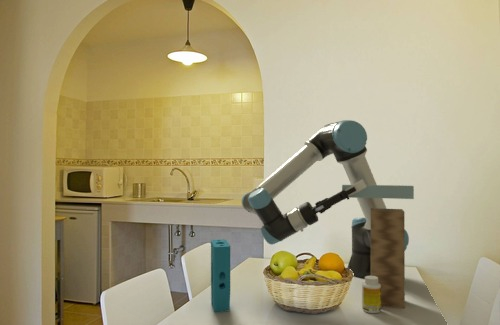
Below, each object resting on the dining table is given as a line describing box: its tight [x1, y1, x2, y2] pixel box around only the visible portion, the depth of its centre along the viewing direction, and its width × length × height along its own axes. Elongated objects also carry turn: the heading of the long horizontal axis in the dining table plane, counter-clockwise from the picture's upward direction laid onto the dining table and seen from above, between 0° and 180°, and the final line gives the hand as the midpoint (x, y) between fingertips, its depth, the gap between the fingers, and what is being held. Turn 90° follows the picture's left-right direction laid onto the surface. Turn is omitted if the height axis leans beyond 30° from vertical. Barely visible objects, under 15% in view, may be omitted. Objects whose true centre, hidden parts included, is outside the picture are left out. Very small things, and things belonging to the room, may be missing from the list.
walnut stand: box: [371, 208, 406, 309], centre depth 130 cm, size 10×8×30 cm
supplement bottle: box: [361, 276, 382, 314], centre depth 122 cm, size 6×6×10 cm
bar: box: [341, 184, 415, 200], centre depth 131 cm, size 22×4×4 cm, turn 74°
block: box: [210, 239, 231, 313], centre depth 126 cm, size 12×5×20 cm, turn 11°
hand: (364, 183), depth 132 cm, fingers closed on bar, 4 cm apart
